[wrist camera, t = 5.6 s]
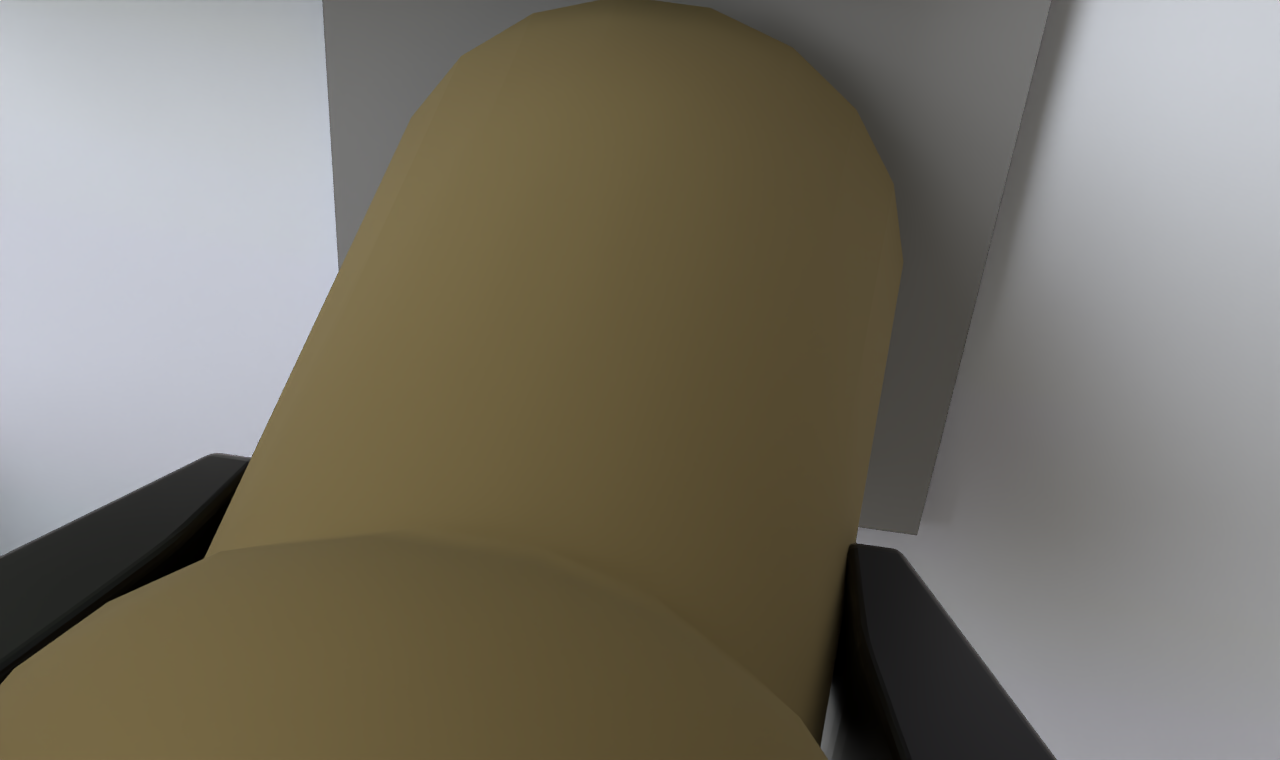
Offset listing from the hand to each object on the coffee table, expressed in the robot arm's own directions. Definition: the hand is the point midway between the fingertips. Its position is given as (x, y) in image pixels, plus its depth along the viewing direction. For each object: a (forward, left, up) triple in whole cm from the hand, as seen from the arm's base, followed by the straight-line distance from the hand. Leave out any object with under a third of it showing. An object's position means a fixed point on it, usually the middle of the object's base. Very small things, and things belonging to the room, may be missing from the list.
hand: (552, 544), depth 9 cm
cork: (0, 0, -5) cm, 5 cm away
